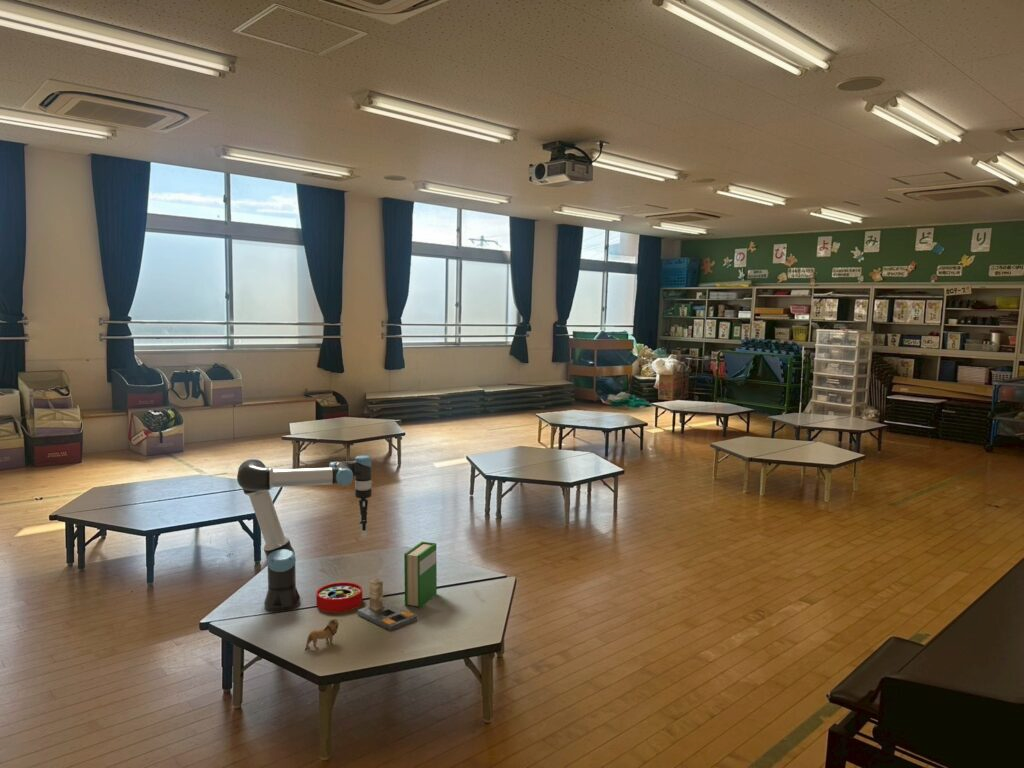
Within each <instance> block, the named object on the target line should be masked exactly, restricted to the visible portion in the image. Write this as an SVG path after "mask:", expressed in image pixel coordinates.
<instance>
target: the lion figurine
mask: <svg viewBox="0 0 1024 768" xmlns="http://www.w3.org/2000/svg"><path fill="white" fill-rule="evenodd" d="M339 623H340V622H339V621H338V619H337V618H331V619H330V620H328V623H327V624H326V627H325V628H323V629H318V630H312V631H311V632H310V633H309V635H308V636H307V639H306V645H305V649H304V651H307V650H308V649H310V647H311V646H309V644H311V642H312V643H313V645H312V646H313V648H314V649H315V650H318V651H319V650H320V648H319V646H317V643H318V640H325V643H326V644H328V643H329V645H331V646H333V645H334V642H333V638H334V637H333V636H335V635H336V634H337V632H338V630H339V626H340V625H339Z"/></svg>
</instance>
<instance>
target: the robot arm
mask: <svg viewBox="0 0 1024 768" xmlns="http://www.w3.org/2000/svg"><path fill="white" fill-rule="evenodd" d="M372 469H373V468H372V457H371V456H369V455H357V456H356V457H354V460H352V461H351V460H350V461H349V460H347V461H330V462H329V464H328V467H312V468H311V467H309V468H285V469H283V468H282V469H281V468H280V469H273V468H272V467H267V466H266V465H265V463H263V461H262V460H259V459H257V458H250V459H247V460H245V461H244V462H242V463H241V464H240V465H239V467H238V470H237V476H236V480H237V483H238V485H239V487H241V488H242V490H243V494H244V495H246V496H248V497H249V500H250V503H251V505H252V508H253V511H254V514H255V518H256V520H257V522H258V526H259V528H260V532H261V533H262V534H261V535H262V537H263V540H264V542H265V543H264V547H263V551H264V553H265V557H266V560H267V561H266V565H267V591H266V595H265V598H264V602H263V603H264V606H263V607H264V609H265V610H266V611H268V612H276V613H280V612H286V611H287V612H288V611H290V610H294V609H296V608H297V607H299V606H300V605H301V597H300V594H299V591H298V589H297V584H296V582H297V581H296V579H297V576H296V575H297V573H296V572H297V571H296V558H297V557H296V553H295V549H294V548H293V546H292V543H291V541H290V538H288V537H286V536H285V535H284V532H283V529H282V526H281V523H280V520H279V516H278V513H277V511H276V507H275V505H274V502H273V499H272V496H271V494H270V490H272V489H273V488H281V487H282V488H283V487H300V486H301V487H304V486H306V487H307V486H321V485H340V486H342V487H343V486H344V487H345V486H349V485H350V484H352V482H353V480H354V487H355V488H354V489H355V490H354V491H355V492H354V493H355V494H354V496H355V498H358V499H359V501H358V505H359V512H360V513H359V515H360V516H359V518H360V519H359V525H360V528H359V529H360V538H367V537H368V521H367V520H368V516H367V515H368V505H369V501H368V499H370V498H371V497H372V484H373V483H374V482H373V481H372Z"/></svg>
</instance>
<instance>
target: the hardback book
mask: <svg viewBox="0 0 1024 768" xmlns="http://www.w3.org/2000/svg"><path fill="white" fill-rule="evenodd" d="M403 560H404V565H403V566H404V572H403V573H404V607H408V606H415V607H417V609H422V607H423V606H425V605H426V604H427V603H428V602H429V601H430V600H431V599H432V598H434V597H435V596H436V595H437V593H438V592H437V591H438V589H437V585H438V584H437V579H438V578H437V575H438V574H437V543H436V542H429V541H421V542H418V544H416V545H415V546H413V547H412V548H410V549H409V550H408V551H406V552H404V559H403Z"/></svg>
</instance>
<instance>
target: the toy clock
mask: <svg viewBox="0 0 1024 768" xmlns="http://www.w3.org/2000/svg"><path fill="white" fill-rule="evenodd" d="M315 595H316V601H315V602H316V607H317V609H319V610H320V611H323V612H328V613H342V612H348V611H351V610H355V609H357V608H359V607H360V606H361V605H362V604H363V588H362V586H361V585H360V584H357V583H354V582H345V581H344V582H333V583H329V584H326V585H324V586H323V585H322V586H321V587H319V588H318V589H317V590H316V593H315Z"/></svg>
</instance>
